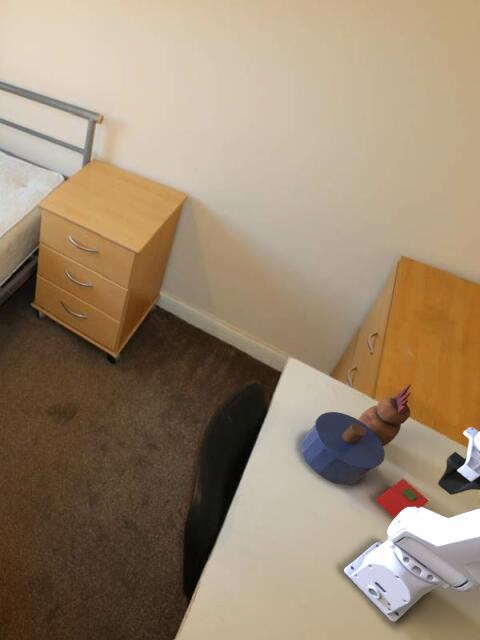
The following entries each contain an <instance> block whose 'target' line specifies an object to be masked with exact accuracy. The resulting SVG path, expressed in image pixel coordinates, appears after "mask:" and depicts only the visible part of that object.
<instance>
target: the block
mask: <svg viewBox="0 0 480 640" xmlns="http://www.w3.org/2000/svg"><path fill="white" fill-rule="evenodd" d="M375 501H376V502H377V503H378V505H380V506H381V507H382V508H383V509H384V510H385V511H387V513H389V514H390V515H391V516H392V517H393V519H395V518H396V516H397V515H398V514H399V513H400V512H401V511H403V510H404V509H405V508H407V507H417V508H421V507H422V508H423V507H424V506H425V505H426V504H427V503H429V502H430V500H429V499H428V498H427V497H425V496H424V495H423V494H422V493H421V492H420V491H418V489H416V488H415V487H414V486H413V485H412V484H410V483H409V481H407V480H406V479H404V478H401V479H399V480H398V481H397V482H396V483H395V484H393V485H392V486H391V487H389V488H388V489H387V490H385V492H383V493H382V494H381V495H380V496H378V497H377V498H376V499H375Z"/></svg>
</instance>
